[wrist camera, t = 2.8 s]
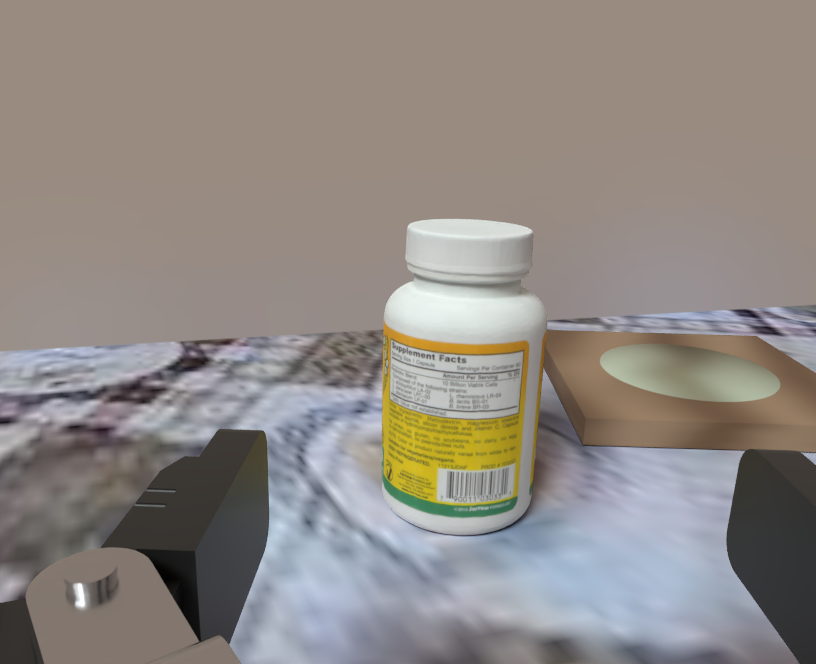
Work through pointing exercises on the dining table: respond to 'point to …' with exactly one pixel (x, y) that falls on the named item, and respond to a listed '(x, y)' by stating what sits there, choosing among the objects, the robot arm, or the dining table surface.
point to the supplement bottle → (462, 378)
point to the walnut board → (682, 390)
